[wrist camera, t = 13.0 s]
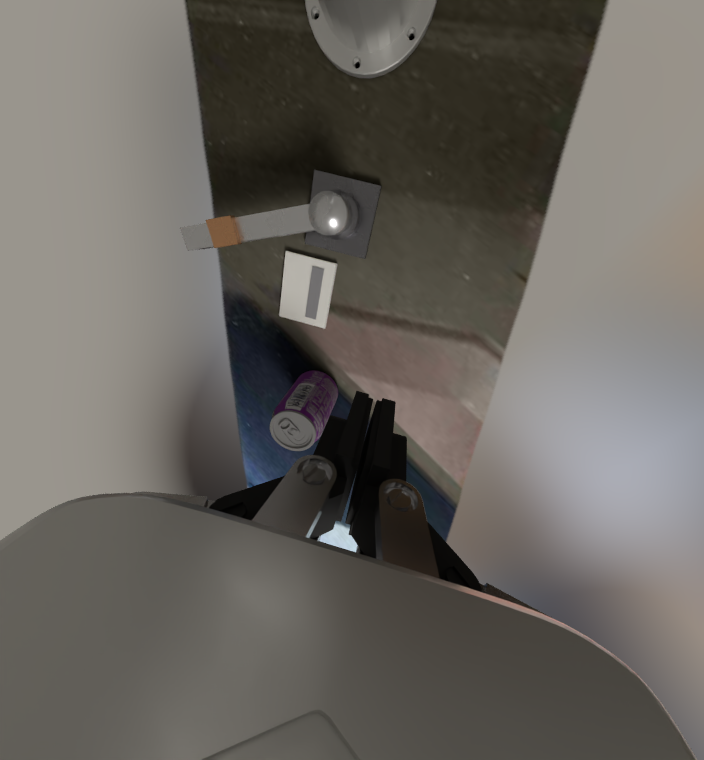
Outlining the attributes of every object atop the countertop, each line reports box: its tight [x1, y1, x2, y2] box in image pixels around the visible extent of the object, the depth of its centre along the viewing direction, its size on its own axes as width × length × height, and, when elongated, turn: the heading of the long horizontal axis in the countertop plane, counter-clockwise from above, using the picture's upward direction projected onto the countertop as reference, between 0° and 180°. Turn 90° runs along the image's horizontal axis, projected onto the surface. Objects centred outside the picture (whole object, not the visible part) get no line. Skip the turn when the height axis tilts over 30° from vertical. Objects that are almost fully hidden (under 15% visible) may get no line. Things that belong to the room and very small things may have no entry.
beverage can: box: [270, 371, 338, 451], centre depth 44 cm, size 7×7×12 cm
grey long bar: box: [180, 191, 352, 251], centre depth 34 cm, size 20×4×4 cm, turn 98°
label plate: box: [279, 251, 337, 328], centre depth 42 cm, size 9×7×1 cm
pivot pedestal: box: [305, 170, 381, 259], centre depth 36 cm, size 8×8×4 cm
